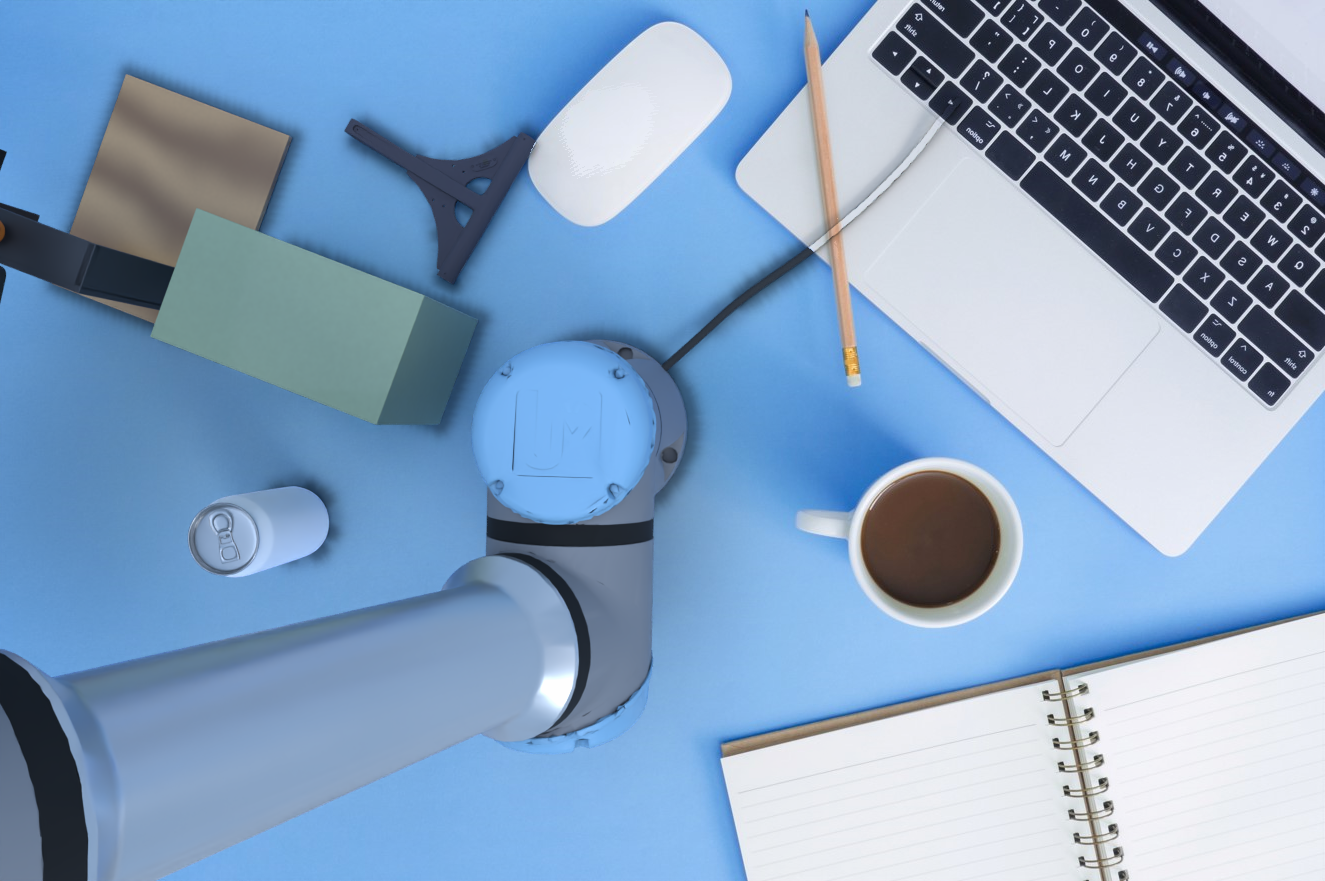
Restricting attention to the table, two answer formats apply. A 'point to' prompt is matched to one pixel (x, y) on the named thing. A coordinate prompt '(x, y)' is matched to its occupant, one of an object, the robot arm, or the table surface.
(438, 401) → the stand
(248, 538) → the can
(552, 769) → the table surface
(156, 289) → the block with orange grip
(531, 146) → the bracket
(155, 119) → the cork mat
